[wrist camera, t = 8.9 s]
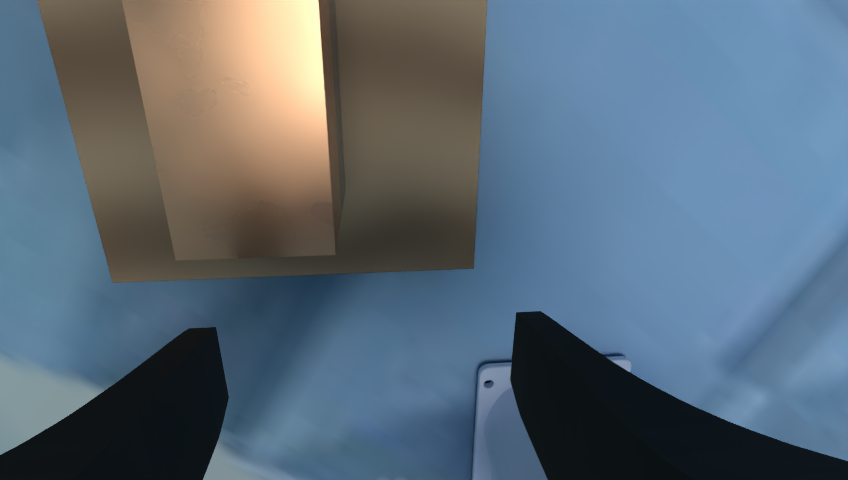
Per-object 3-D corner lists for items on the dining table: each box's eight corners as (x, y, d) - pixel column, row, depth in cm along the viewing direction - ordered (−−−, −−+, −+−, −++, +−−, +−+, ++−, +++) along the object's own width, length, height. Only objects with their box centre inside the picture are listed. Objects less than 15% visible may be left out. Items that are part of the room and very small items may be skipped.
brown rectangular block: (345, 188, 18) (335, 254, 13) (234, 190, 18) (175, 260, 13) (331, -61, 15) (310, -113, 10) (197, -65, 15) (96, -121, 9)
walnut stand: (463, 244, 23) (473, 268, 20) (140, 255, 21) (112, 282, 19) (479, -164, 17) (497, -194, 14) (36, -184, 15) (-22, -221, 13)
